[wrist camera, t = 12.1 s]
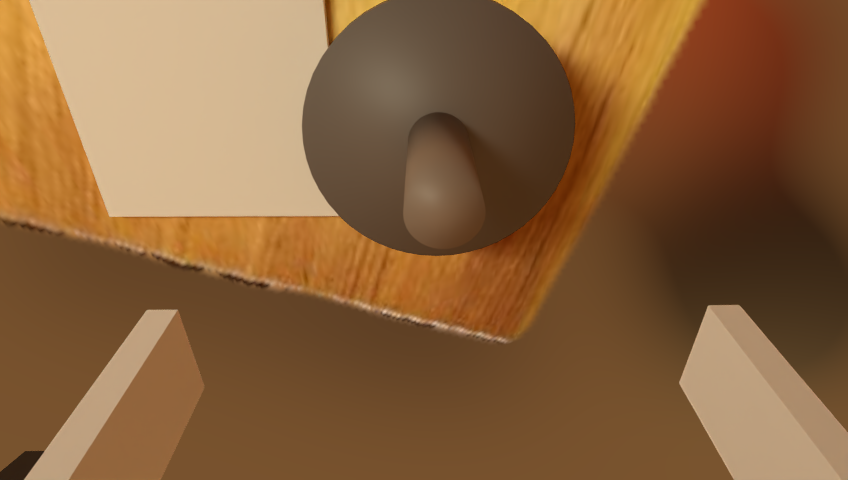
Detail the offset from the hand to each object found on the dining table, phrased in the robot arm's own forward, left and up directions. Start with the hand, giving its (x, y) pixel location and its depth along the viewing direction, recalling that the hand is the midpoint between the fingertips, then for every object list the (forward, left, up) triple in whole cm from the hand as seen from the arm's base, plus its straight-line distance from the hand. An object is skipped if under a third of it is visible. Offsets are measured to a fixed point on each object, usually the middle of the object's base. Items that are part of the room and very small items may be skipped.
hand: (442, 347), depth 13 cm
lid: (+1, 0, -20) cm, 20 cm away
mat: (0, -16, -25) cm, 29 cm away
